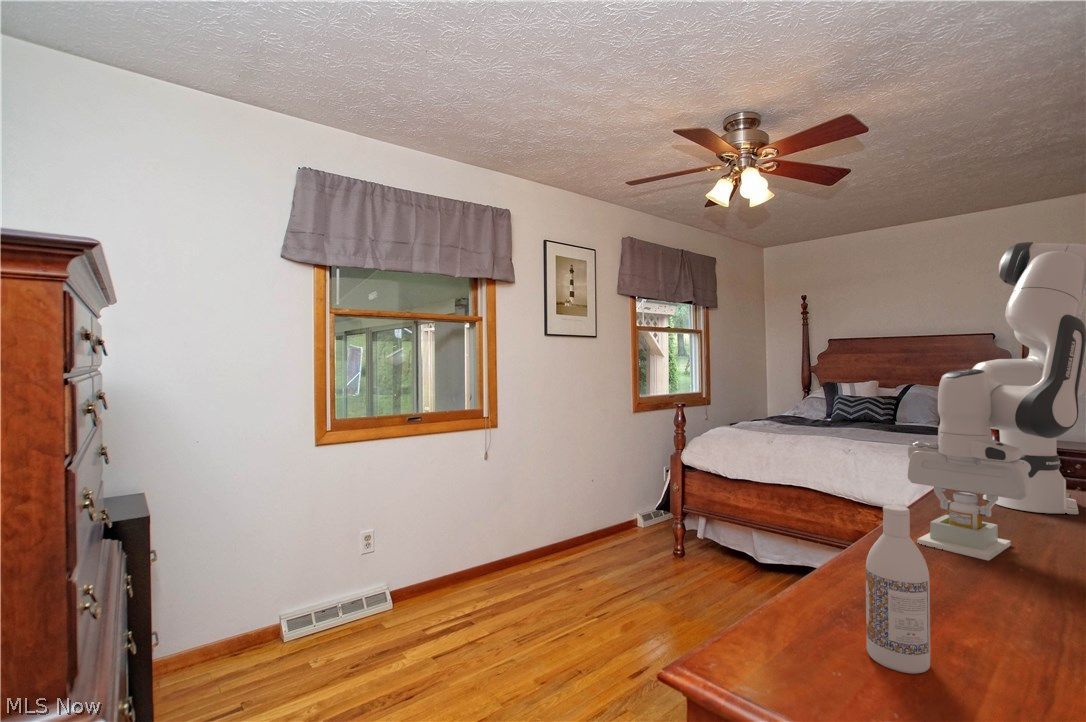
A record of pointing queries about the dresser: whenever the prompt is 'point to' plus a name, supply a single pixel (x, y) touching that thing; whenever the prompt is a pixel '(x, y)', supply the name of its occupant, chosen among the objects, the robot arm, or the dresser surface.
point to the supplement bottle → (965, 511)
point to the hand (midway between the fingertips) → (965, 512)
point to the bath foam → (898, 597)
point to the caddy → (965, 539)
